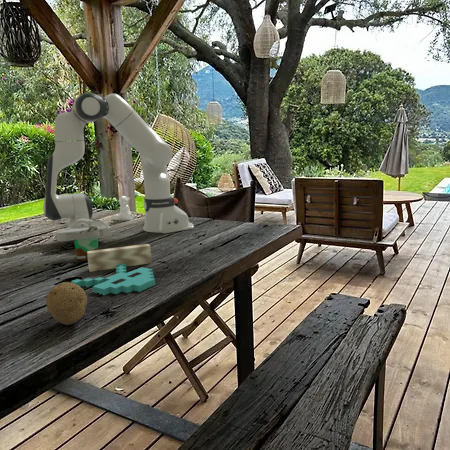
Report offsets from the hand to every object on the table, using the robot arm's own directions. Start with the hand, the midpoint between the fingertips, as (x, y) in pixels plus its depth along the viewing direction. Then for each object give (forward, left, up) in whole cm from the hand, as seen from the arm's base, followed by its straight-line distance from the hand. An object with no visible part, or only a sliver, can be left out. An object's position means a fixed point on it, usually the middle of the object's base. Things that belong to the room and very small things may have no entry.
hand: (86, 237), depth 169 cm
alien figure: (-4, +42, -6) cm, 43 cm away
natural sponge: (+13, +65, -5) cm, 67 cm away
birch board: (-7, +26, -5) cm, 27 cm away
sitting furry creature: (-25, -52, -5) cm, 58 cm away
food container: (0, +10, -5) cm, 11 cm away
